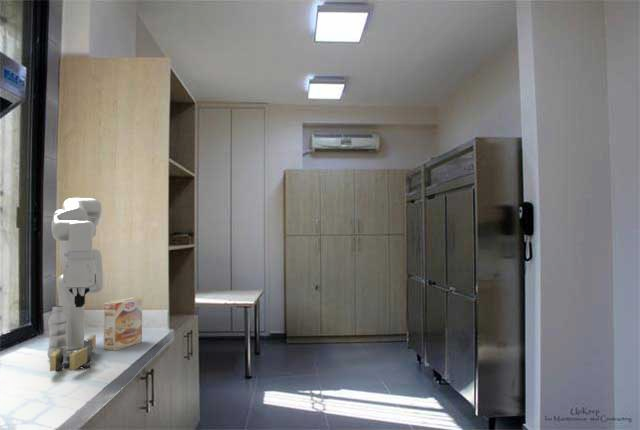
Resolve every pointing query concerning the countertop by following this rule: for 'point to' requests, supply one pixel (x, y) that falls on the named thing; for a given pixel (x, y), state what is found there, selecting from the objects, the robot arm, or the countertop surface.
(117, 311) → the coffeecake box
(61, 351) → the brushed brass bar
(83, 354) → the tan block
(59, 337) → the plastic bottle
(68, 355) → the tribrach base
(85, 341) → the knob
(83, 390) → the countertop surface
